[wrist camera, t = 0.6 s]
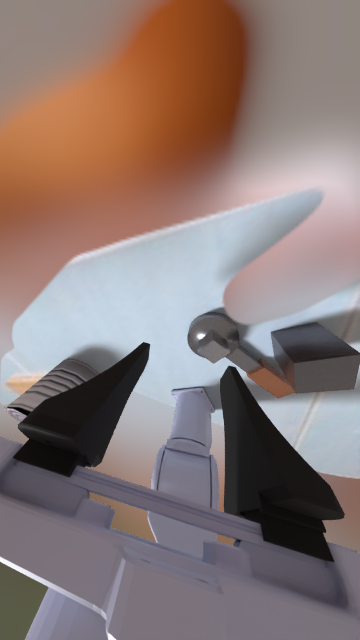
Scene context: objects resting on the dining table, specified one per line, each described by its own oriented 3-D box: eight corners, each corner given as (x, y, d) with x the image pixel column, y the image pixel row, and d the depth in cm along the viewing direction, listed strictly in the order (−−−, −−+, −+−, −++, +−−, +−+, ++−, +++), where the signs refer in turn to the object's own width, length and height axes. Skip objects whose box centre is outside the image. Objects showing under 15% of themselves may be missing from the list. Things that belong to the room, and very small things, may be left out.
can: (102, 392, 38) (63, 447, 28) (64, 378, 38) (11, 429, 27) (102, 368, 32) (53, 428, 22) (57, 352, 32) (-14, 404, 21)
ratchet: (302, 376, 23) (322, 403, 19) (263, 392, 26) (273, 417, 23) (210, 302, 19) (212, 317, 15) (180, 334, 23) (174, 352, 19)
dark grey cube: (315, 351, 20) (353, 389, 15) (274, 358, 22) (295, 393, 17) (316, 322, 18) (361, 354, 13) (270, 332, 20) (293, 363, 14)
